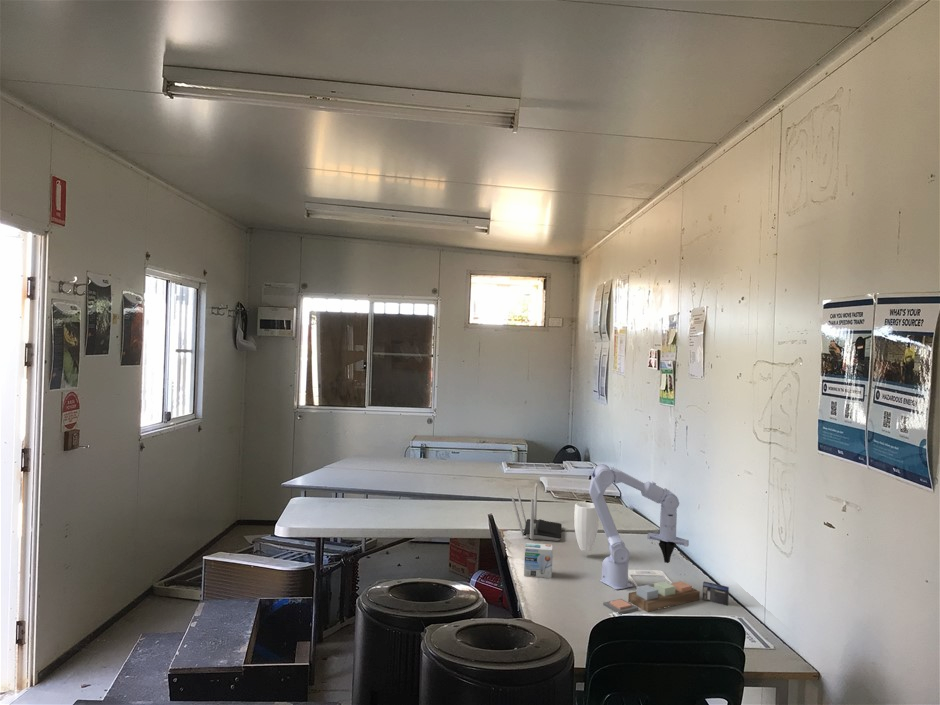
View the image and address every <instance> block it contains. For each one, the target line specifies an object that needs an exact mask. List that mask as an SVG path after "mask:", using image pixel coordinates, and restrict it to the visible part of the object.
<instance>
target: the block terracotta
mask: <svg viewBox="0 0 940 705" xmlns="http://www.w3.org/2000/svg"><path fill="white" fill-rule="evenodd" d="M671 585H673V586H675V590H677V591H679V592H681V593H682V592H687V591H691V590H692V588H693V586H692V585H691V584H688V583H686V582H684V581H682V580H680V581H675V582H672V583H671Z"/></svg>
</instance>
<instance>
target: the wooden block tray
mask: <svg viewBox="0 0 940 705" xmlns="http://www.w3.org/2000/svg"><path fill="white" fill-rule="evenodd" d="M636 593H637V590H636V591H632V592H628V601H627V602H628V603H630V604H632V605H634V606H636V607H638V609H641V610H643V611H645V612H647V613H649V612H653V610H654V611H657V610H656V609H658V608H662V609H665V608H664V607H667V608H669V607H668V606H671V607H674V606H673V605H675V606H679V605H678V604H680V605H683V603H684V604H687V602H688V603H691V602H697V601H700V599H701V598H700V596H701V595H700V594H701V592H700V590H697V589H696V588H694V587H692V590H691V591H687V592H682V593H681V592H679V591H677V590H675V594H673V595H669V596H663V595H661V594H659V593H658V598H655V599H651V600H645V599H643V598H642V597H640V596H638V595H636ZM658 610H659V609H658Z"/></svg>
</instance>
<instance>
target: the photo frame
mask: <svg viewBox="0 0 940 705" xmlns="http://www.w3.org/2000/svg"><path fill="white" fill-rule="evenodd" d="M633 576H634V577H656V576H664V578H665V579H666V580H667V582H668V581H669V582H670V583H673V581H672V580H670V578H669V577H668V576H667V575H666V573H665V572H664V571H663V570H657V569H656V570H655V569H654V570H653V569H628V579H630V581H631V582H632V583H633V586H635V587H636V589H637V587H640V586H641V585H640V586H638V584H637V582H636V581H635V579H634V578H633ZM669 582H668V583H669ZM670 583H669V584H670ZM652 587H653V588H654V586H652Z"/></svg>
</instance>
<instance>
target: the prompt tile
mask: <svg viewBox="0 0 940 705" xmlns="http://www.w3.org/2000/svg"><path fill="white" fill-rule="evenodd" d="M602 605H603V606H604V607H606V608H608V609H609V610H611V611H612V612H615V613H616V612H618V613H617V614H618V615H623V614H626V613H630V612H635V611H638V610H639V607H637V606H635V605H633V604H631V603H630V602H628V601H626V600H625V599H623V598H618V599H614V600H608V601H604V602H603V603H602Z"/></svg>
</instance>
